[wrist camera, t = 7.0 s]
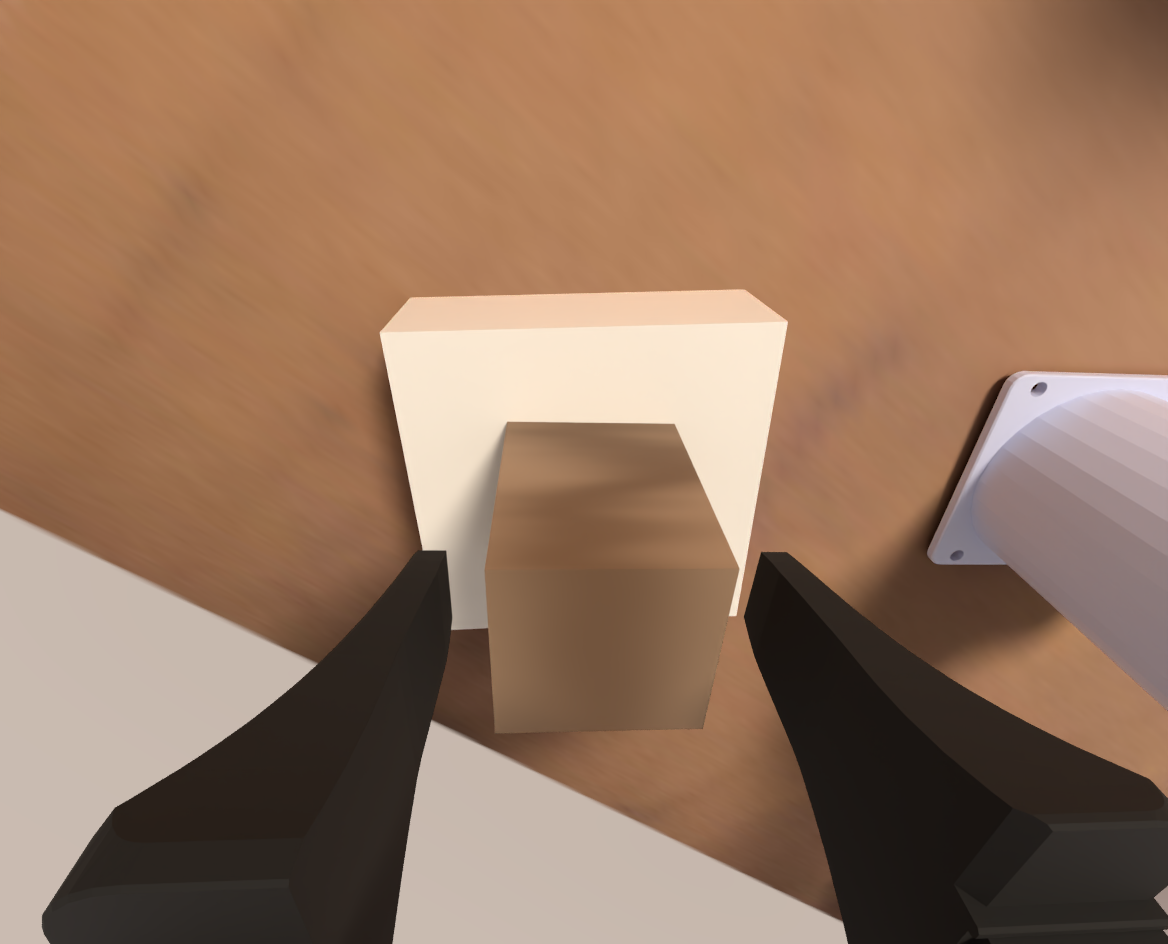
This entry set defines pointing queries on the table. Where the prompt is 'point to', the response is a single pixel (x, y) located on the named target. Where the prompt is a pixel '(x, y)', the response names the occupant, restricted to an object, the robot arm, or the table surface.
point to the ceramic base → (575, 399)
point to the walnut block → (603, 581)
